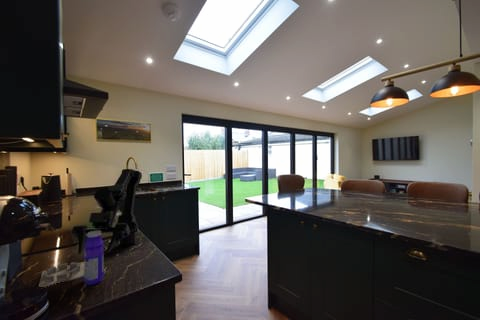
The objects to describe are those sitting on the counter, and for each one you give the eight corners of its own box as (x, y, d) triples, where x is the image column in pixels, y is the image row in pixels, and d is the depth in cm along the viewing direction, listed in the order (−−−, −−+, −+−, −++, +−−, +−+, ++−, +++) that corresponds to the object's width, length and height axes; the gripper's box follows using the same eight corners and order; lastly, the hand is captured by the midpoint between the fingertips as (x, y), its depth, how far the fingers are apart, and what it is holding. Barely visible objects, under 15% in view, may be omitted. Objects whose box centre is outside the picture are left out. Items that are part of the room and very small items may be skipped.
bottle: (82, 279, 75) (82, 231, 75) (100, 274, 79) (101, 228, 79) (85, 288, 70) (86, 236, 70) (105, 281, 74) (106, 232, 74)
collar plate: (93, 260, 90) (93, 254, 90) (96, 273, 79) (96, 266, 79) (42, 273, 80) (42, 266, 80) (37, 289, 69) (38, 281, 70)
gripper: (74, 204, 78) (53, 244, 67) (127, 202, 82) (116, 240, 71) (85, 219, 86) (68, 258, 75) (134, 217, 89) (124, 254, 78)
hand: (93, 253), depth 74 cm, fingers open, 9 cm apart
